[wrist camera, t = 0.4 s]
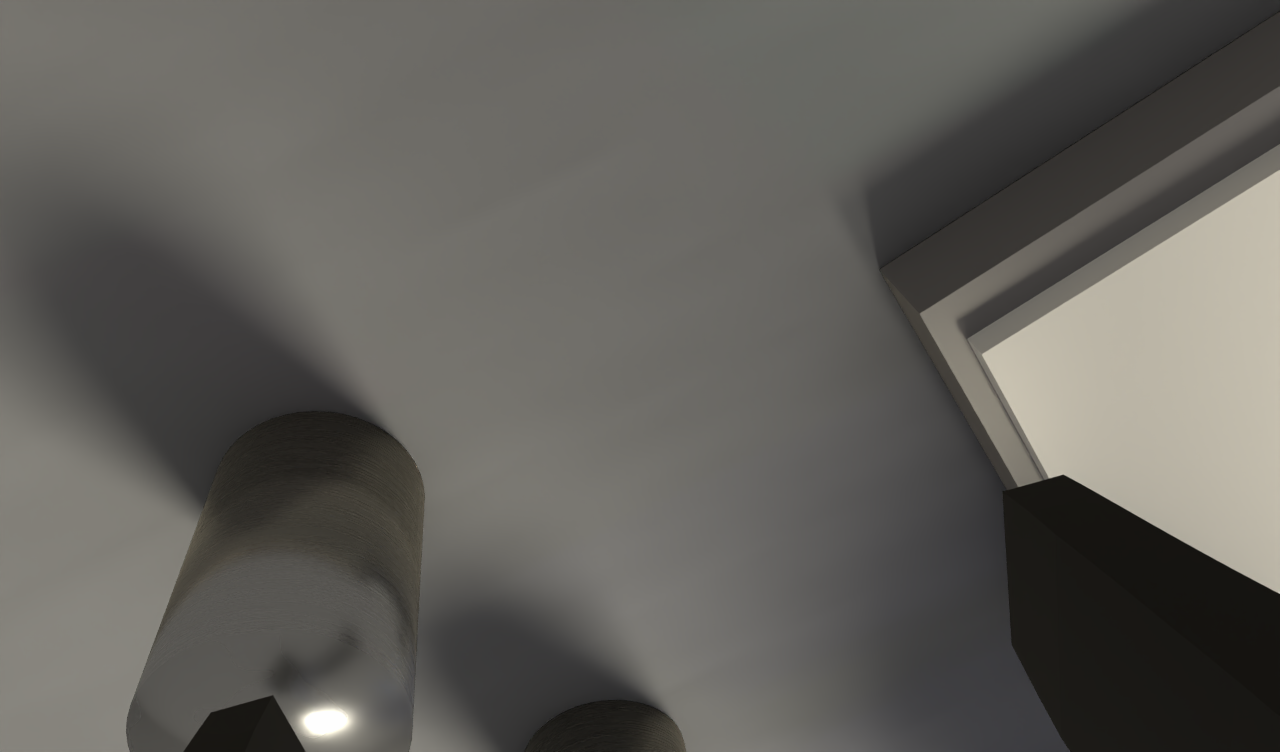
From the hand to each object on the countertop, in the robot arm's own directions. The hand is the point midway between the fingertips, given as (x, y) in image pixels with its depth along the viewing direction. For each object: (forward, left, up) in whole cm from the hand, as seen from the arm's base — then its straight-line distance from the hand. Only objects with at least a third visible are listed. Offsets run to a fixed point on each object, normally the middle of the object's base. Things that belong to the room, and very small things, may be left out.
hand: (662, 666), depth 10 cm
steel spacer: (-1, +7, -10) cm, 12 cm away
